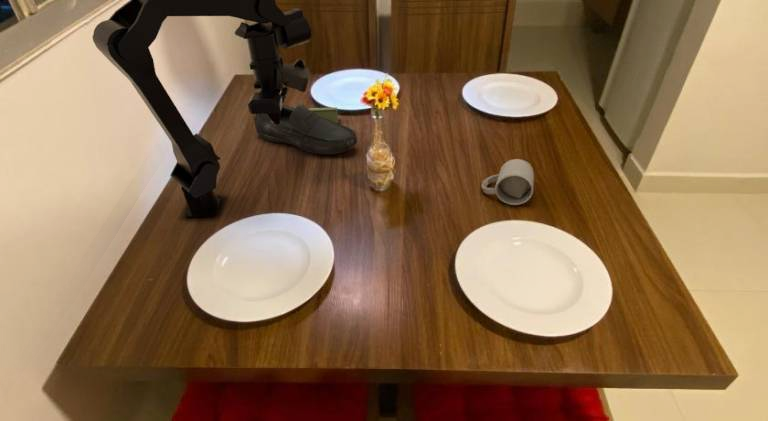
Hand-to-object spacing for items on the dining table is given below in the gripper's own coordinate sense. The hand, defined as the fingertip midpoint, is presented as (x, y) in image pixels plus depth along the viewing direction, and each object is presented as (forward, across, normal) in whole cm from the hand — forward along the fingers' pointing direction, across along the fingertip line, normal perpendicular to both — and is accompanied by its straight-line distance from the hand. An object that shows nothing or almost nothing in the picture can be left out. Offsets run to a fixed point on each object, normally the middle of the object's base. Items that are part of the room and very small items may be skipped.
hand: (277, 123), depth 99 cm
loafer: (+12, +10, -4) cm, 16 cm away
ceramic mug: (+12, -14, -50) cm, 53 cm away
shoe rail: (+12, +20, -3) cm, 24 cm away
